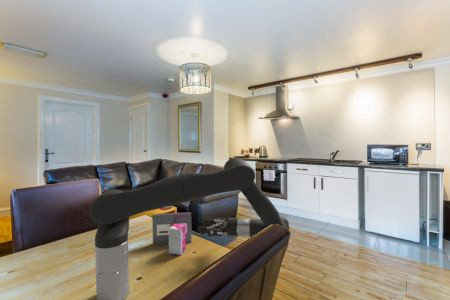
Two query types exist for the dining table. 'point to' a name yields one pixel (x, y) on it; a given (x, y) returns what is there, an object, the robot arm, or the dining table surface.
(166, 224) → the label panel
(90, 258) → the dining table surface
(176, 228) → the supplement box
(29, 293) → the dining table surface
